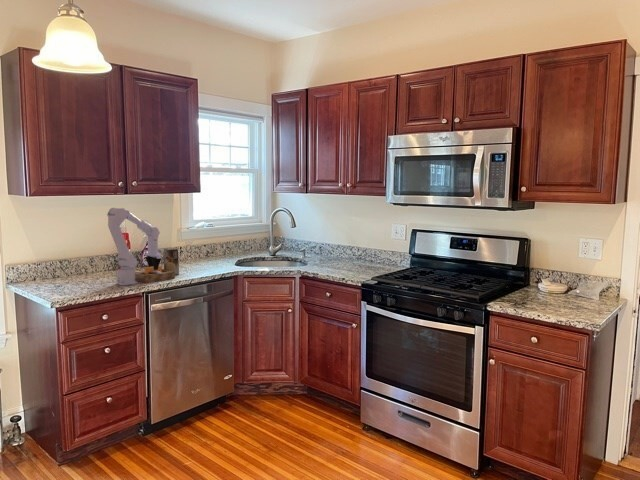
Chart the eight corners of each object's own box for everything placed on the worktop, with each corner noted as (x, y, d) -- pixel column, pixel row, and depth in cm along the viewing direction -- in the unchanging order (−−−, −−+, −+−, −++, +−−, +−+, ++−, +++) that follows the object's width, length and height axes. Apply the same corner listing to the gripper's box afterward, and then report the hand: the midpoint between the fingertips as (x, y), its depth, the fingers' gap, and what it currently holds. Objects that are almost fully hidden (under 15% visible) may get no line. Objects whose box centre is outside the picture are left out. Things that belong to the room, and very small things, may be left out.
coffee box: (179, 272, 306) (178, 248, 304) (179, 274, 300) (178, 249, 298) (164, 273, 304) (163, 248, 302) (163, 275, 298) (163, 250, 296)
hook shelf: (143, 282, 274) (143, 274, 273) (132, 279, 283) (132, 271, 283) (174, 278, 288) (174, 270, 288) (163, 275, 298) (163, 267, 297)
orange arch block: (145, 277, 281) (145, 268, 281) (144, 277, 282) (144, 267, 282) (161, 275, 289) (161, 266, 288) (160, 275, 290) (160, 265, 289)
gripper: (165, 247, 281) (165, 269, 283) (153, 245, 291) (153, 266, 293) (153, 248, 276) (154, 271, 278) (142, 246, 286) (143, 268, 288)
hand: (153, 269), depth 285 cm, fingers open, 6 cm apart
